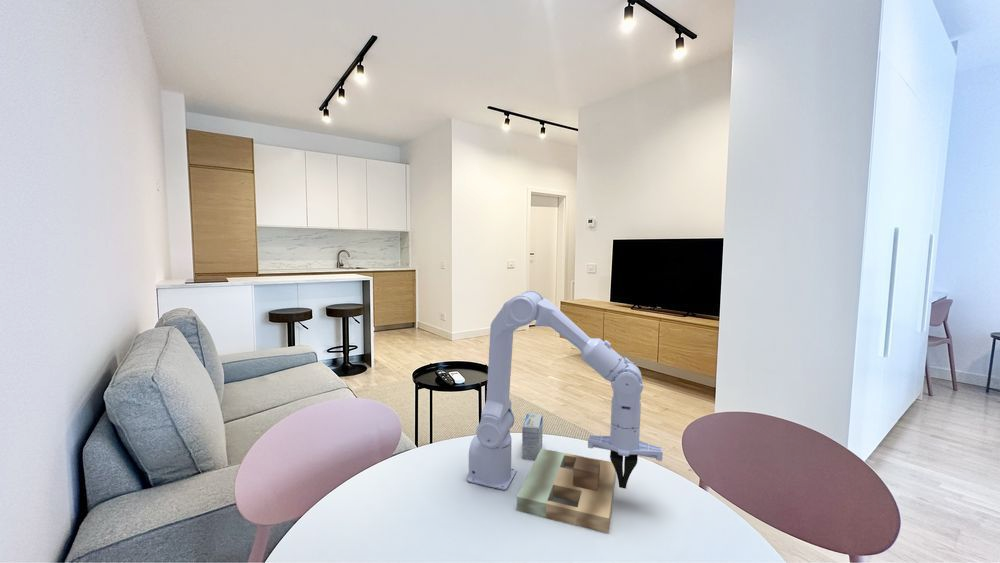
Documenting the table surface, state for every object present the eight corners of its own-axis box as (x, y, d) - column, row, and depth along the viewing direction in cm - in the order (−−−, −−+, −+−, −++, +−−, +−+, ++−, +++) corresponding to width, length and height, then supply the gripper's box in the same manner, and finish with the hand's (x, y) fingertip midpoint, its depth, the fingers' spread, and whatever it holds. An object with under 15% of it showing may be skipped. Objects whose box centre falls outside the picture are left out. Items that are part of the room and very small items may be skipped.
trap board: (516, 510, 79) (516, 496, 79) (540, 459, 98) (541, 448, 98) (608, 533, 73) (609, 518, 73) (615, 474, 92) (616, 462, 91)
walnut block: (572, 485, 82) (573, 467, 82) (576, 473, 87) (577, 456, 87) (597, 491, 81) (597, 472, 80) (599, 477, 85) (600, 460, 85)
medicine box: (539, 461, 97) (540, 427, 97) (521, 459, 98) (522, 426, 97) (542, 445, 105) (543, 414, 104) (526, 443, 106) (526, 412, 105)
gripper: (586, 425, 79) (584, 488, 80) (664, 437, 74) (661, 505, 75) (591, 411, 85) (589, 470, 87) (662, 422, 80) (659, 484, 82)
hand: (622, 485), depth 81 cm, fingers closed
